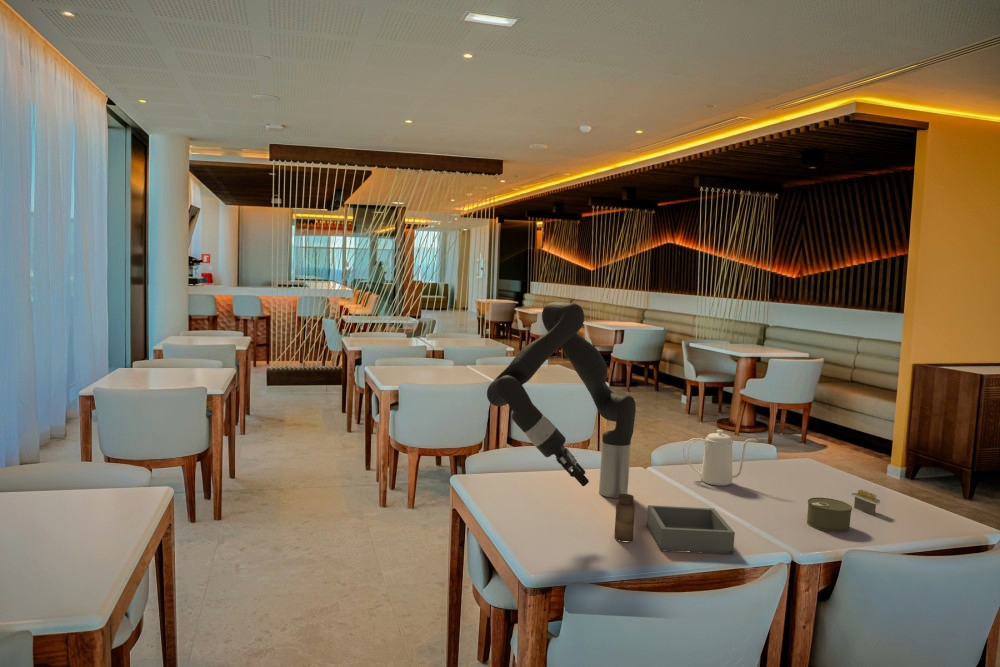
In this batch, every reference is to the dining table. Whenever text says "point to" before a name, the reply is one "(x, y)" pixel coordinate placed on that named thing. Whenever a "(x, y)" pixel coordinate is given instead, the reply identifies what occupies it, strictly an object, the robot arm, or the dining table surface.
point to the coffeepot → (718, 459)
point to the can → (829, 515)
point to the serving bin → (690, 529)
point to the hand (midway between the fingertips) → (584, 479)
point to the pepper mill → (624, 517)
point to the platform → (865, 502)
